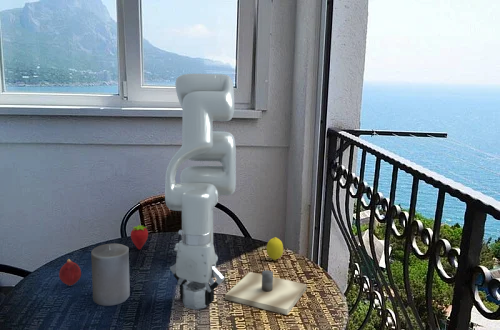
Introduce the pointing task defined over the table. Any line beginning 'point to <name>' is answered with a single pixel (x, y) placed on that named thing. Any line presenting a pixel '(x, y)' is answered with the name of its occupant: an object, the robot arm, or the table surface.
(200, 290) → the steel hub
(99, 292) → the pillar candle
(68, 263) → the onion
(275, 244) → the lemon
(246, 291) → the post board
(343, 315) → the table surface
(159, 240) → the table surface
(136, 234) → the strawberry
